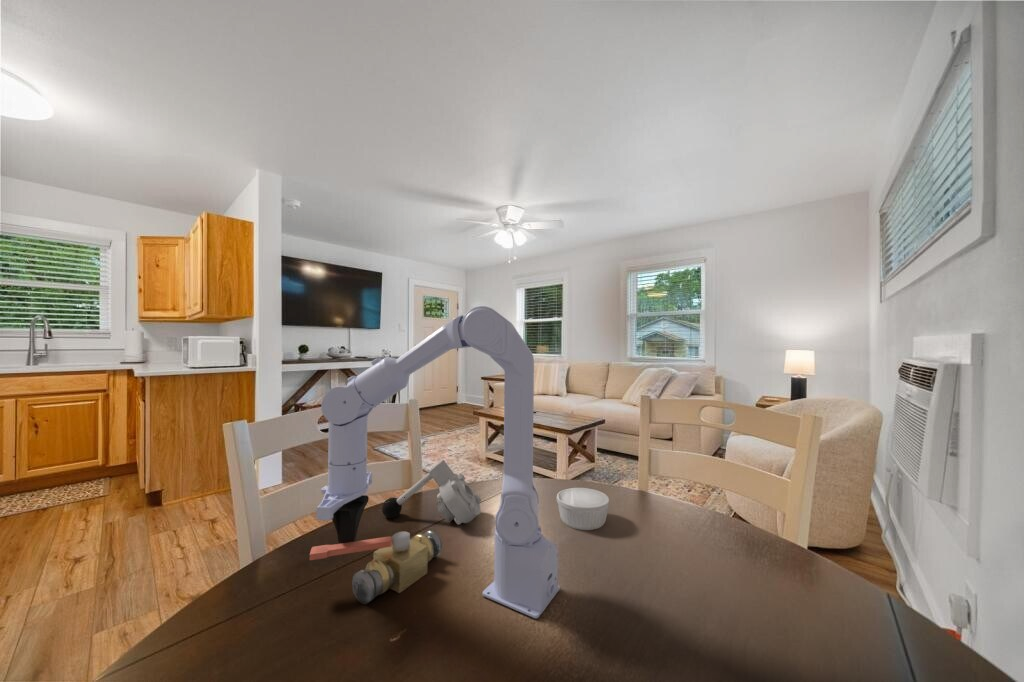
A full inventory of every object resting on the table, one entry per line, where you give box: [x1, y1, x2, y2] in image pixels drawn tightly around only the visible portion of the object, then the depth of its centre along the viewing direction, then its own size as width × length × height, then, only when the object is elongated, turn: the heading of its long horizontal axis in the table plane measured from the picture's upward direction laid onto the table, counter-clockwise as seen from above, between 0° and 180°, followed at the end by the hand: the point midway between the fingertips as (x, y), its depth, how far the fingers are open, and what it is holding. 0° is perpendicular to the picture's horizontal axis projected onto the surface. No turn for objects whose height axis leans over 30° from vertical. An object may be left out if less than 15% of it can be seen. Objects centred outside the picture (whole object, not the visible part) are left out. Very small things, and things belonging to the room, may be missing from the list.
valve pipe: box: [351, 529, 443, 605], centre depth 62 cm, size 15×6×5 cm, turn 149°
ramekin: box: [556, 487, 610, 531], centre depth 83 cm, size 11×11×5 cm
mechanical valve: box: [381, 459, 482, 525], centre depth 83 cm, size 10×18×15 cm
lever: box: [309, 531, 411, 561], centre depth 60 cm, size 15×3×2 cm, turn 109°
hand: (346, 545), depth 61 cm, fingers closed, pressing on lever
